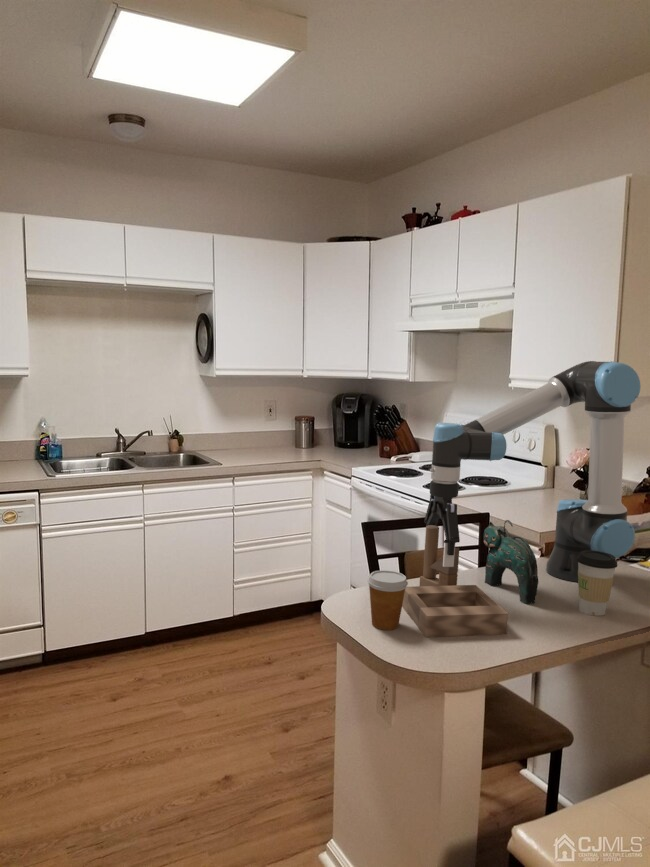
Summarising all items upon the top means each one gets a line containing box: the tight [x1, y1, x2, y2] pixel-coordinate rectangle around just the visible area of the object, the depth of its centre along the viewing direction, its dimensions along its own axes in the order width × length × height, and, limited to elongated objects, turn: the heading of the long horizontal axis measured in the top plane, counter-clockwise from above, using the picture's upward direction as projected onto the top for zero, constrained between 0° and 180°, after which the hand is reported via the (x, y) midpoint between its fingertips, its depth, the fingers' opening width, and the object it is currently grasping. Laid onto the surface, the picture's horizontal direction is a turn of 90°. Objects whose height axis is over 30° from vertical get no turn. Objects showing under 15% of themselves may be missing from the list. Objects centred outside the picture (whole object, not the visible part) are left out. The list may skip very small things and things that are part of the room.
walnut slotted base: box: [402, 584, 509, 638], centre depth 163 cm, size 20×19×5 cm
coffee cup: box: [577, 550, 619, 617], centre depth 171 cm, size 10×10×15 cm
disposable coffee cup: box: [367, 569, 409, 631], centre depth 157 cm, size 10×10×12 cm
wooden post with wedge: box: [418, 525, 460, 586], centre depth 179 cm, size 4×11×18 cm, turn 35°
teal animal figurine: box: [483, 519, 539, 605], centre depth 183 cm, size 20×6×20 cm, turn 23°
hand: (438, 558), depth 179 cm, fingers open, 13 cm apart
